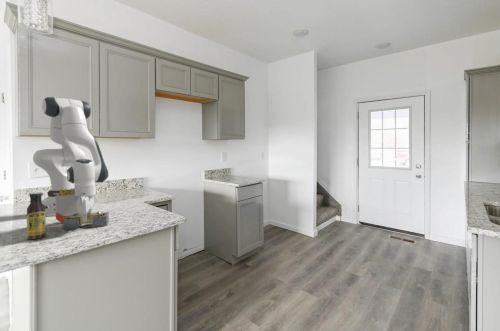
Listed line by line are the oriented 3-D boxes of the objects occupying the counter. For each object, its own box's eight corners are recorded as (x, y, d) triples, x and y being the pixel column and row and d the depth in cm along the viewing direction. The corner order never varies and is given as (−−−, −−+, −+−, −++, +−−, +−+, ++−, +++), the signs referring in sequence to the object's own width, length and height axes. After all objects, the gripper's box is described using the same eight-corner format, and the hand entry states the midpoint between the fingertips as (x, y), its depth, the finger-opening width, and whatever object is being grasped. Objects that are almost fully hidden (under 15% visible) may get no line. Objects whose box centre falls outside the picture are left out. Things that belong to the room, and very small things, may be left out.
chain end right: (108, 221, 131) (108, 212, 131) (106, 225, 124) (106, 216, 124) (95, 222, 129) (95, 213, 129) (92, 227, 122) (92, 217, 121)
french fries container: (55, 223, 129) (53, 189, 127) (80, 218, 137) (78, 186, 135) (57, 224, 126) (55, 190, 124) (82, 220, 133) (80, 187, 132)
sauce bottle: (28, 241, 104) (25, 195, 102) (26, 237, 108) (23, 193, 106) (48, 237, 109) (45, 192, 107) (45, 233, 113) (42, 191, 111)
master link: (69, 225, 120) (69, 215, 120) (71, 223, 123) (71, 213, 122) (102, 221, 125) (102, 212, 125) (103, 220, 128) (103, 210, 128)
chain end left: (63, 230, 117) (62, 220, 116) (68, 225, 124) (67, 216, 124) (78, 228, 119) (77, 218, 119) (82, 224, 127) (81, 214, 126)
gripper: (88, 194, 114) (90, 223, 116) (96, 188, 133) (97, 213, 134) (72, 195, 112) (74, 225, 113) (82, 188, 131) (84, 214, 132)
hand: (87, 218), depth 124 cm, fingers open, 8 cm apart
